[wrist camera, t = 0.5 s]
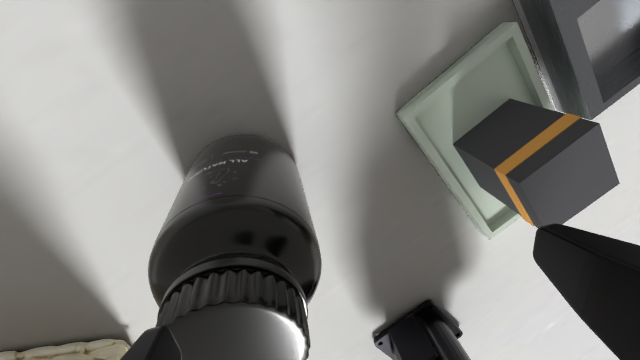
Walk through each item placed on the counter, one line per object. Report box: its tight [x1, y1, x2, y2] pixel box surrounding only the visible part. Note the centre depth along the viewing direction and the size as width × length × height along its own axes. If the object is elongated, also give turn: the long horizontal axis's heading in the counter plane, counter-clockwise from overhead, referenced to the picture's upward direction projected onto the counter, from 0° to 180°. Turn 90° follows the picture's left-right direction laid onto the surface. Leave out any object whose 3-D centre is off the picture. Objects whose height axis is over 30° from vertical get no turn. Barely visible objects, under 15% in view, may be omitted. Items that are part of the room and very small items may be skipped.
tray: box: [395, 22, 554, 240], centre depth 22 cm, size 13×8×1 cm, turn 39°
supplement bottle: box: [148, 135, 321, 360], centre depth 15 cm, size 7×7×12 cm
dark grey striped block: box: [453, 98, 620, 228], centre depth 19 cm, size 5×5×6 cm
